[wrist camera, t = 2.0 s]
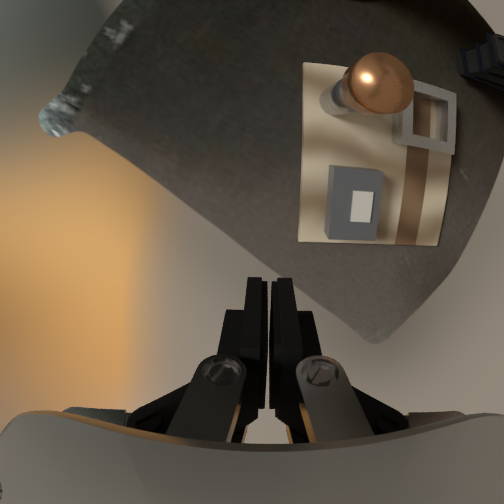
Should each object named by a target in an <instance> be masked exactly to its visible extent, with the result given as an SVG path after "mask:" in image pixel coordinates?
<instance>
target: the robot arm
mask: <svg viewBox="0 0 504 504" xmlns="http://www.w3.org/2000/svg"><path fill="white" fill-rule="evenodd" d="M267 295H268V291H267V281H262V278H261V277H248V280H247V288H246V298H245V306H244V310H226V313H225V318H224V322H223V327H222V332H221V337H220V342H219V347H218V352H217V355H213V356H210V357H208V358H206V359H204V360H203V361H202V362H201V363H200V364H199V366H198V367H197V369H196V371H195V373H194V376H193V378H192V380H191V382H190V383H188V384H186V385H184V386H182V387H180V388H178V389H176V390H174V391H173V392H170V393H169V394H167V395H165V396H163V397H161V398H159V399H157V400H155V401H152V402H150V403H148V404H146V405H144V406H142V407H140V408H138V409H137V410H135V411H134V412H133V413H127V412H126V410H118V409H96V408H84V407H70V408H68V409H65V410H64V411H63V412H59V411H30V412H26V413H22V414H19V415H17V416H16V417H15V418H13V419H12V420H11V421H10V422H9V423H8V424H7V426H6V427H5V428H4V430H3V431H2V432H1V434H0V504H504V415H502V414H493V413H480V414H469V415H465V414H463V413H461V412H458V411H447V412H421V413H420V412H413V413H412V412H410V413H408V414H407V415H402V414H401V413H400V412H399V411H397V410H395V409H393V408H391V407H390V406H388V405H386V404H384V403H382V402H380V401H378V400H376V399H375V398H373V397H371V396H369V395H367V394H365V393H363V392H362V391H360V390H358V389H356V388H354V387H353V386H351V384H350V382H349V379H348V377H347V375H346V373H345V371H344V369H343V367H342V366H341V365H340V363H338V362H337V361H336V360H334V359H332V358H330V357H326V356H322V353H321V348H320V344H319V339H318V334H317V330H316V326H315V321H314V317H313V313H312V311H297V308H296V301H295V295H294V289H293V283H292V278H277V281H272V287H271V310H270V331H269V408H270V409H275V417H277V418H278V419H279V420H281V421H282V422H284V423H285V424H286V431H287V436H288V440H289V444H246V443H244V440H245V436H246V433H247V425H249V424H250V423H251V422H253V421H254V420H256V419H257V418H258V409H264V408H265V391H266V376H267V357H268V296H267Z"/></svg>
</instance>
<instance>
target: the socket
mask: <svg viewBox="0 0 504 504" xmlns="http://www.w3.org/2000/svg"><path fill="white" fill-rule="evenodd" d="M413 82H414V96H418V97H421V98H425V99H429V100H432V101H435V102H436V132H435V139H432V138H428V137H424V136H419V135H414V134H412V133H413V100H412V102H411V103H410V105H409V106H408V107H407V108H406V109H405V110H403V111H401V112H399V113H393V114H392V141H391V142H392V143H398V144H404V145H409V146H415V147H420V148H425V149H430V150H434V151H439V152H443V153H448V154H452V155H454V153H455V137H456V93H453V92H451V91H448V90H445V89H442V88H439V87H436V86H433V85H430V84H426V83H423V82H420V81H416V80H413Z"/></svg>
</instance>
